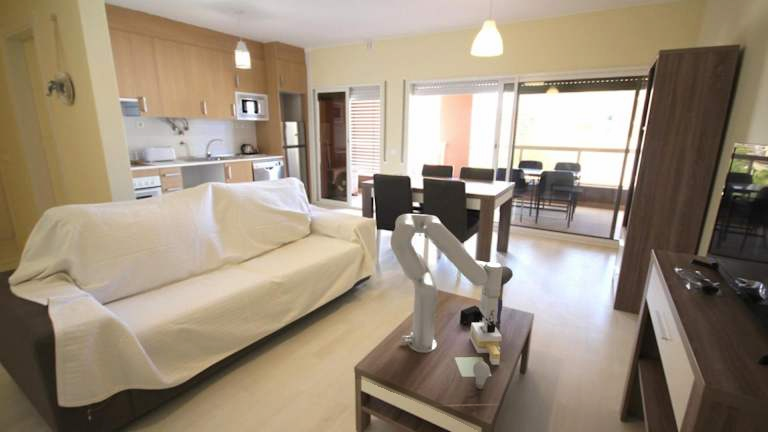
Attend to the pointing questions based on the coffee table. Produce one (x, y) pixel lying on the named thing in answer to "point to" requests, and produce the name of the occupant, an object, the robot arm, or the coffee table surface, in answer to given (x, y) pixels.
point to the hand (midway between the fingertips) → (486, 326)
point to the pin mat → (467, 365)
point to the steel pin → (485, 324)
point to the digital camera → (470, 315)
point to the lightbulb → (481, 373)
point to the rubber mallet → (505, 278)
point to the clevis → (486, 342)
